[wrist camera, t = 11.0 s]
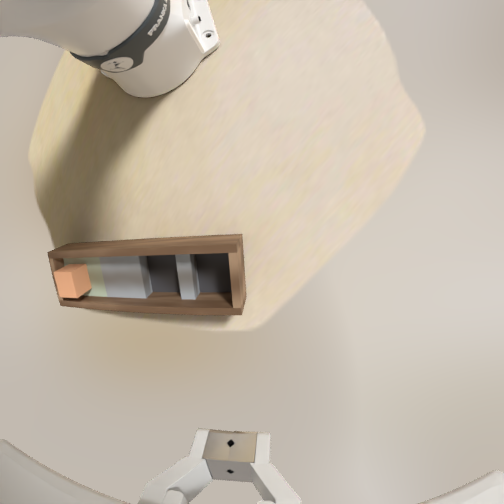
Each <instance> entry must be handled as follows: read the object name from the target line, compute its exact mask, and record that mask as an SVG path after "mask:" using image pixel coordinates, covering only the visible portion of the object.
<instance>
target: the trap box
mask: <svg viewBox="0 0 504 504" xmlns="http://www.w3.org/2000/svg"><path fill="white" fill-rule="evenodd" d="M48 257H49V262H50V266H51V271H52V275H53V279H54V283H55V287H56V291H57V295H58V298H59V302H60V305H61V306H67V307H77V308H87V309H98V310H111V311H124V312H140V313H160V314H188V315H242V312H243V308H244V304H245V300H246V285H245V270H244V255H243V240H242V234H234V235H211V236H189V237H170V238H151V239H134V240H117V241H101V242H86V243H72V244H66V245H64V246H62V247H59V248H57V249H54V250H52V251H50V252H48ZM68 264H86V265H87V270H88V274H89V279H90V283H91V287H92V288H91V289H90V290H89V291H87V292H86V293H84V294H83V295H81V296H80V297H79V298H66V297H60V296H59V292H58V288H57V284H56V281H55V277H54V272H55V271H57V270H59V269H60V268H62V267H64V266H66V265H68Z"/></svg>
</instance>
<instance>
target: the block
mask: <svg viewBox="0 0 504 504" xmlns="http://www.w3.org/2000/svg"><path fill="white" fill-rule="evenodd" d="M54 277H55V281H56V284H57V288H58V292H59V296H60V297H66V298H79V297H80V296H81V295H83V294H84V293H86V292H87V291H89V290H90V289H91V288H92V287H91V283H90V279H89V274H88V270H87V265H86V264H68V265H66V266H64V267H62V268H60V269H59V270H57V271H55V272H54Z"/></svg>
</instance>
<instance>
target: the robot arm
mask: <svg viewBox="0 0 504 504" xmlns="http://www.w3.org/2000/svg"><path fill="white" fill-rule="evenodd" d="M208 35H211V37H209V38H207V36H208ZM8 36H18V37H20V36H21V37H29V38H34V39H39V40H42V41H44V42H47V43H50V44H53V45H55V46H58V47H61V48H63V49H65V50H68V51H70V53H71V54H72V56H74V57H75V58H77V59H78V60H80V61H82V62H84V63H86V64H88V65H90V66H92V67H94V68H98V69H100V70H101V73H102V74H103V75H105V76H106V77H109V78H111V79H113V80H114V81H115V82H116V83H117V84H118V85H119V86H120V87H121V88H122V89H123V90H124V91H125V92H126V93H128V94H130V95H132V96H136V97H145V98H146V97H154V96H158V95H162V94H164V93H167V92H169V91H171V90H173V89H174V88H176V87H177V86H179V85H180V84H182V83H183V82H184V81H185V80H186V79H187V78H188V77H189V76H190V75H191V74H192V73H193V72H194V70H195V69H196V68H197V66H198V65H199V63H200V62H201V60H202V59H203V58H204V57H206V56H207V55H209V54H210V53H211V52H213V51H214V50H215V49H217V48H218V46H219V45H220V39H219V36H218V32H217V29H216V26H215V23H214V19H213V16H212V13H211V9H210V6H209V3H208V0H0V37H8ZM212 479H216V480H229V481H241V482H253V484H254V486H255V487H256V489H257V490H258V492H259V493H260V495H261V496H262V498H263V500H264V501H259V502H257V503H256V504H301V499H300V497H299V496H298V495H297V494H296V493H295V491H294V490H293V489H292V488H291V487H290V485H289V484H288V483H287V482H286V480H285V479H284V478H283V477H282V475H281V474H280V473H279V471H278V470H277V469H276V468H275V467H274V465H273V464H272V463H271V433H270V432H242V431H241V432H240V431H234V432H232V431H221V430H211V429H202V428H199V429H198V430H197V431H196V434H195V437H194V441H193V444H192V447H191V450H190V453H189V456H188V457H186V456H185V457H184V458H182V459H181V460H179V461H178V462H177V463H175V464H174V465H172V466H171V467H170V468H168V469H167V470H165V471H164V472H162V473H161V474H159V475H158V476H156V477H155V478H153V479H152V480H150V481H149V482H147V483H146V485H145V488H144V490H143V493H142V495H141V497H140V500H139V502H138V504H189V502H190V501H191V500H192V499H193V498H195V497H196V496H197V495H198V494H199V493H200V492H201V491H202V490H203V489H204V488H205V487H206V486H207V485H208V484H209V483H210V482H211V481H212ZM0 504H130V503H127V502H124V501H121V500H118V499H115V498H113V497H110V496H107V495H105V494H102V493H100V492H98V491H95V490H92V489H90V488H88V487H86V486H84V485H81V484H79V483H77V482H75V481H73V480H71V479H69V478H67V477H65V476H63V475H61V474H59V473H57V472H56V471H54V470H52V469H50V468H48V467H47V466H45V465H43V464H41V463H39V462H38V461H36V460H35V459H33V458H31V457H30V456H28V455H27V454H25V453H24V452H22V451H21V450H19V449H17V448H16V447H15V446H13V445H12V444H10V443H9V442H8V441H6V440H3V439H1V440H0ZM418 504H504V472H501V471H498V470H494V471H491V472H489V473H487V474H485V475H483V476H481V477H480V478H478V479H476V480H474V481H472V482H470V483H468V484H465V485H463V486H461V487H459V488H457V489H455V490H452V491H450V492H447V493H445V494H443V495H440V496H438V497H435V498H432V499H430V500H427V501H424V502H421V503H418Z"/></svg>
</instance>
